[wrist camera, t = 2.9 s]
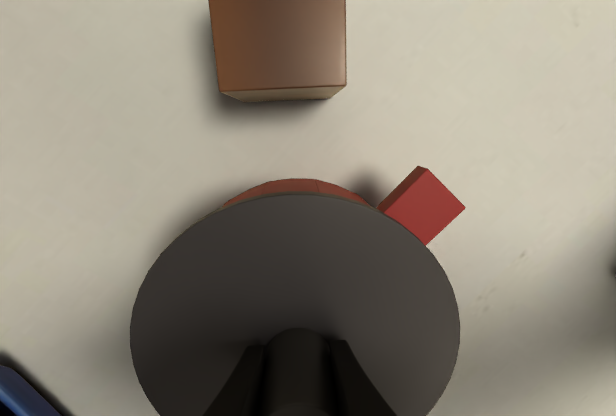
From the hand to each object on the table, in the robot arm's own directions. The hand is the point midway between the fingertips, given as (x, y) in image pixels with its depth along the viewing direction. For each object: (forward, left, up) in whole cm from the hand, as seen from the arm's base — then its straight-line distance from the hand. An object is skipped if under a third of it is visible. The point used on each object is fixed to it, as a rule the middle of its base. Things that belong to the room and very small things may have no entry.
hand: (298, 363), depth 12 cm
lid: (0, 0, -1) cm, 1 cm away
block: (-10, -8, -7) cm, 14 cm away
